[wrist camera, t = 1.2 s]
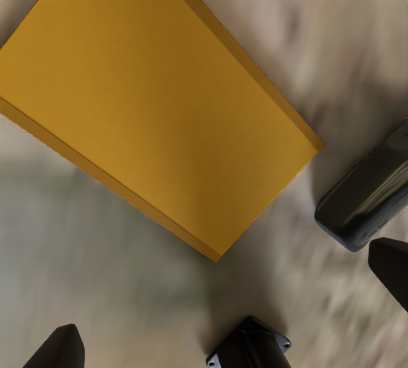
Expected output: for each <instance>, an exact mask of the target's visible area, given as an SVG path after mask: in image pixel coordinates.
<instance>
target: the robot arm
mask: <svg viewBox="0 0 408 368" xmlns="http://www.w3.org/2000/svg"><path fill="white" fill-rule="evenodd" d="M368 264H369V267H370V269H371V270H372V271H373V273H374V274H375V275H376V276H377V277H378V279H379V280H380V281H381V282H382V283H383V284H384V286H385V287H386V288H387V289H388V290H389V292H390V293H391V294H392V295H393V296H394V298H395V299H396V300H397V301H398V302H399V303H400V305H401V306H402V307H403V308H404V309H405V310H406V311H407V312H408V243H407V242H403V241H398V240H394V239H390V238H385V237H382V238H378V239H374V240H372V241H371V242H370V244H369V256H368ZM250 321H251V322H250ZM290 346H291V342H290V340H289V339H288V338H286V337H285V336H283V335H281V334H280V333H278V332H277V331H275V330H274V329H272V328H271V327H269V326H267V325H266V324H264V323H263V322H261V321H260V320H258V319H256V318H255V317H253V316H248V317H246V318H245V319H244V320H243V321H242V322H241V323H240V325H239V326H238V327H237V328H236V329H235V330H234V331H233V332H232V333H231V334H230V335H229V336H228V337H227V338H226V339H225V340H224V341H223V342H222V343H221V344H220V345H219V346H218V347H217V348H216V349H215V350H214V351H213V353H212V354H211V355H210V356H209V357H208V358H207V359H206V365H207V367H208V368H291V366H290V365H289V363H288V361H287V359H286V357H285V356H284V353H285V352H286V351H287V350H288V349H289V348H290ZM84 362H85V349H84V345H83V342H82V340H81V337H80V335H79V332H78V330H77V327H76V326H75V324H68V325H64V326H61V327H58V328H57V329H56V330H55V331H54V332H53V333H52V334H51V335H50V336H49V338H48V339H47V340H46V341H45V342H44V343H43V345H42V346H41V347H40V348H39V349H38V350H37V351H36V353H35V354H34V355H33V356H32V357H31V358H30V360H29V361H28V362H27V363H26V364H25V365H24V366H23V368H84Z"/></svg>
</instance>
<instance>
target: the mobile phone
mask: <svg viewBox="0 0 408 368" xmlns="http://www.w3.org/2000/svg"><path fill="white" fill-rule="evenodd" d="M407 207H408V119H407V120H406V121H405V122H404V123H403V124H402V125H401V126H400V127H399V128H398V129H397V130H396V131H395V132H393V133H392V134H391V135H389V136H388V137H387V138H386V139H385V140H384V141H383V142H382V143H381V144H380V145H379V146H378V147H377V148H376V149H375V150H374V151H373V152H372V153H371V154H370V155H369V156H368V157H367V158H366V159H364V160H363V161H362V162H361V163H360V164H359V165H357V166H356V167H355V168H354V169H353V170H352V171H351V172H350V173H349V174H348V175H347V176H346V177H344V178H343V179H342V180H341V181H340V182H339V183H338V184H337V185H336V186H335V187H334V188H333V189H332V190H331V191H330V192H329V193H328V194H327V195H326V196H325V197H324V198H323V199H322V200H321V201H320V203H319V204H318V205H317V207H316V210H315V216H314V217H315V220H316V222H317V224H318V225H319V226H320V227H321V228H322V229H323V230H324V231H325V232H327V233H328V234H329V235H330V236H332V237H333V238H334V239H335V240H337V241H338V242H339V243H340V244H342V245H343V246H344V247H345V248H347V249H348V250H349V251H351V252H357V251H359V250H360V249H362V248H363V247H364V246H365V245H366V244H367V243H368V242H369V241H370V240H371V239H372V238H373V237H374V236H375V235H376V234H377V233H378V232H380V231H381V230H382V229H383V228H384V227H385V226H386V225H387V224H388V223H389V222H391V221H392V220H393V219H394V218H396V217H397V216H398V215H399V214H401V213H402V212H403V211H404V210H405V209H406V208H407Z"/></svg>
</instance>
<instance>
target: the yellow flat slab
mask: <svg viewBox="0 0 408 368" xmlns="http://www.w3.org/2000/svg"><path fill="white" fill-rule="evenodd" d="M0 113H1V114H3V115H4V116H5V117H7V118H8V119H10V120H11V121H13V122H14V123H16V124H17V125H18V126H20V127H21V128H23V129H24V130H26V131H27V132H28V133H30V134H31V135H33V136H34V137H36V138H37V139H39V140H40V141H41V142H43V143H44V144H46V145H47V146H49V147H50V148H51V149H53V150H54V151H56V152H57V153H59V154H60V155H62V156H63V157H64V158H66V159H67V160H69V161H70V162H72V163H73V164H74V165H76V166H77V167H79V168H80V169H82V170H83V171H84V172H86V173H87V174H89V175H90V176H92V177H93V178H95V179H96V180H97V181H99V182H100V183H102V184H103V185H105V186H106V187H107V188H109V189H110V190H112V191H113V192H115V193H116V194H118V195H119V196H120V197H122V198H123V199H125V200H126V201H128V202H129V203H130V204H132V205H133V206H135V207H136V208H138V209H139V210H141V211H142V212H143V213H145V214H146V215H148V216H149V217H151V218H152V219H153V220H155V221H156V222H158V223H159V224H161V225H162V226H164V227H165V228H166V229H168V230H169V231H171V232H172V233H174V234H175V235H176V236H178V237H179V238H181V239H182V240H184V241H185V242H187V243H188V244H189V245H191V246H192V247H194V248H195V249H197V250H198V251H199V252H201V253H202V254H204V255H205V256H207V257H208V258H209V259H211V260H212V261H214V262H215V263H216V262H217V261H218V260H219V259H220V258H221V257H222V255H223V254H224V253H225V252H226V251H227V250H228V249H229V248H230V247H231V246H232V244H233V243H234V242H235V241H236V240H237V239H238V238H239V237H240V236H241V235H242V234H243V233H244V232H245V230H246V229H247V228H248V227H249V226H250V225H251V224H252V223H253V222H254V221H255V220H256V219H257V218H258V216H259V215H260V214H261V213H262V212H263V211H264V210H265V209H266V208H267V207H268V206H269V205H270V204H271V202H272V201H273V200H274V199H275V198H276V197H277V196H278V195H279V194H280V193H281V192H282V191H283V189H284V188H285V187H286V186H287V185H288V184H289V183H290V182H291V181H292V180H293V179H294V178H295V177H296V175H297V174H298V173H299V172H300V171H301V170H302V169H303V168H304V167H305V166H306V165H307V164H308V163H309V161H310V160H311V159H312V158H313V157H314V156H315V155H316V154H317V153H318V152H319V151H320V150H321V149H322V148H323V147H324V146H325V144H324V143H323V141H322V140H321V139H320V138H319V137H318V136H317V134H316V133H315V132H314V131H313V130H312V129H311V127H310V126H309V125H308V124H307V123H306V122H305V120H304V119H303V118H302V117H301V116H300V115H299V113H298V112H297V111H296V110H295V109H294V108H293V106H292V105H291V104H290V103H289V102H288V101H287V99H286V98H285V97H284V96H283V95H282V94H281V92H280V91H279V90H278V89H277V88H276V87H275V85H274V84H273V83H272V82H271V81H270V80H269V79H268V77H267V76H266V75H265V74H264V73H263V72H262V70H261V69H260V68H259V67H258V66H257V65H256V63H255V62H254V61H253V60H252V59H251V58H250V56H249V55H248V54H247V53H246V52H245V51H244V49H243V48H242V47H241V46H240V45H239V44H238V42H237V41H236V40H235V39H234V38H233V37H232V35H231V34H230V33H229V32H228V31H227V30H226V28H225V27H224V26H223V25H222V24H221V23H220V21H219V20H218V19H217V18H216V17H215V16H214V14H213V13H212V12H211V11H210V10H209V9H208V8H207V6H206V5H205V4H204V3H203V2H202V1H201V0H38V1H37V2H36V3H35V5H34V6H33V7H32V9H31V10H30V11H29V13H28V14H27V15H26V17H25V18H24V19H23V20H22V22H21V23H20V24H19V26H18V27H17V28H16V30H15V31H14V32H13V34H12V35H11V36H10V38H9V39H8V40H7V42H6V43H5V44H4V45H3V47H2V48H1V49H0Z"/></svg>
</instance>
